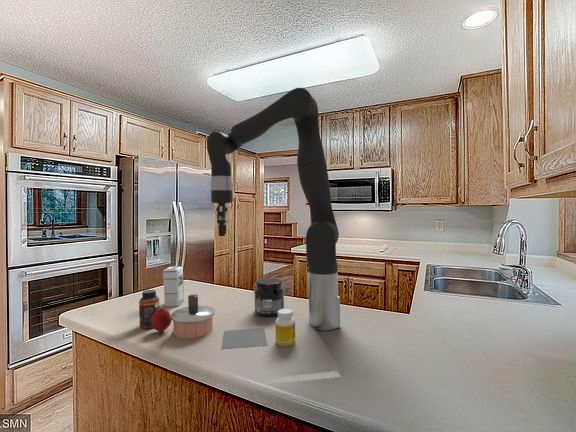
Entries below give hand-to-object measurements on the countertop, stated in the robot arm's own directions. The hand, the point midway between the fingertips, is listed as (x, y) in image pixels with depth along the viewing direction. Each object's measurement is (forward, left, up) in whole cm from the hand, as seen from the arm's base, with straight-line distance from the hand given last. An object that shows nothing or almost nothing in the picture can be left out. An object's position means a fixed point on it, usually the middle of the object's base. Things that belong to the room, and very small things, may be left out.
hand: (222, 235), depth 109 cm
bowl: (+8, +17, -28) cm, 34 cm away
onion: (+18, +14, -28) cm, 36 cm away
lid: (+8, +17, -23) cm, 29 cm away
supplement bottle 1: (+23, +8, -28) cm, 37 cm away
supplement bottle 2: (-18, +30, -28) cm, 45 cm away
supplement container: (-16, +5, -28) cm, 33 cm away
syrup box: (+20, -14, -28) cm, 37 cm away
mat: (-7, +25, -28) cm, 38 cm away
